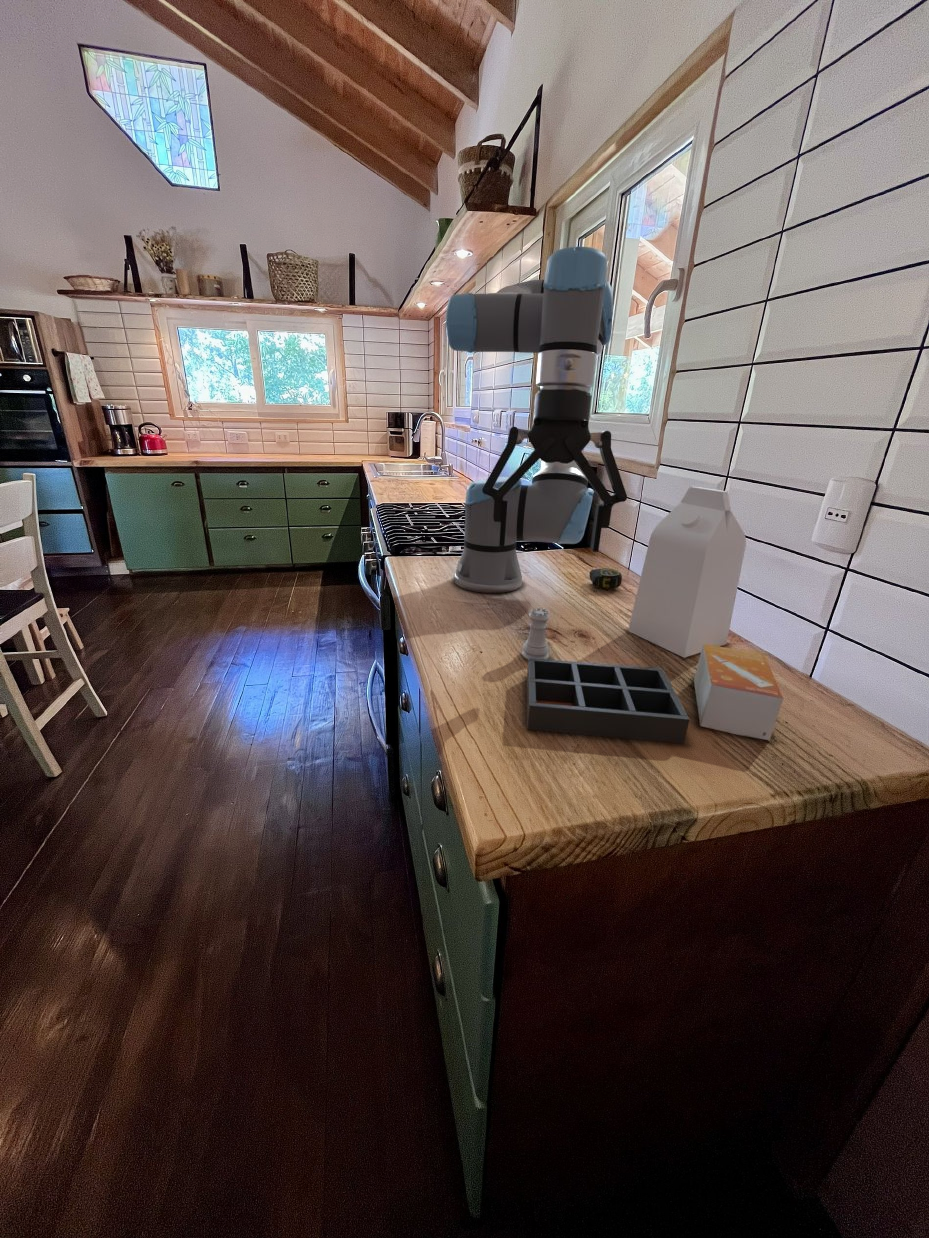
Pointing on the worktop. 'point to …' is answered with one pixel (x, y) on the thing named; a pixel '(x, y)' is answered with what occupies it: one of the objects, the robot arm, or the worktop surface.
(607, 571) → the tape measure
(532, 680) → the grid tray
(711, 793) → the worktop surface
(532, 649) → the rook chess piece
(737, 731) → the small box
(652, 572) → the milk
